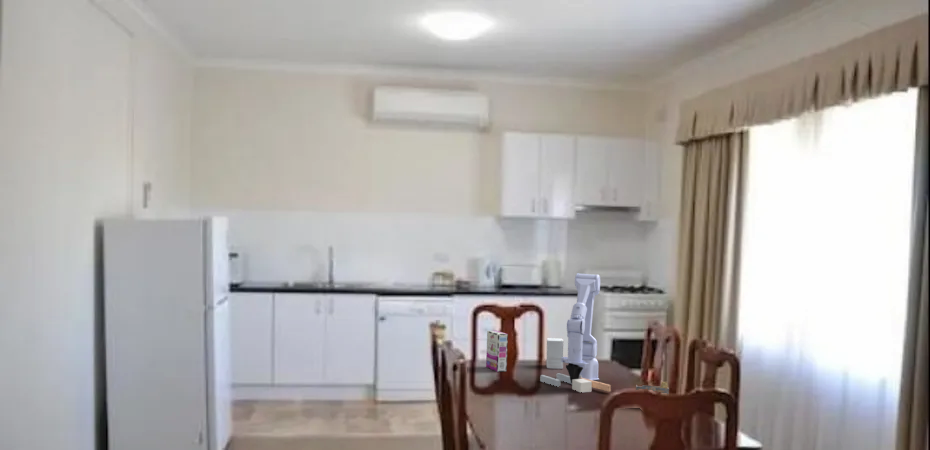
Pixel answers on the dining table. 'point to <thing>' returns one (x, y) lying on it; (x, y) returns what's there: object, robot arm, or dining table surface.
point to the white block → (581, 385)
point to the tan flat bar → (598, 384)
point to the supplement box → (554, 353)
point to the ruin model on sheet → (656, 388)
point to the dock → (554, 381)
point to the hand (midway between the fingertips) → (574, 383)
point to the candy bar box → (497, 351)
